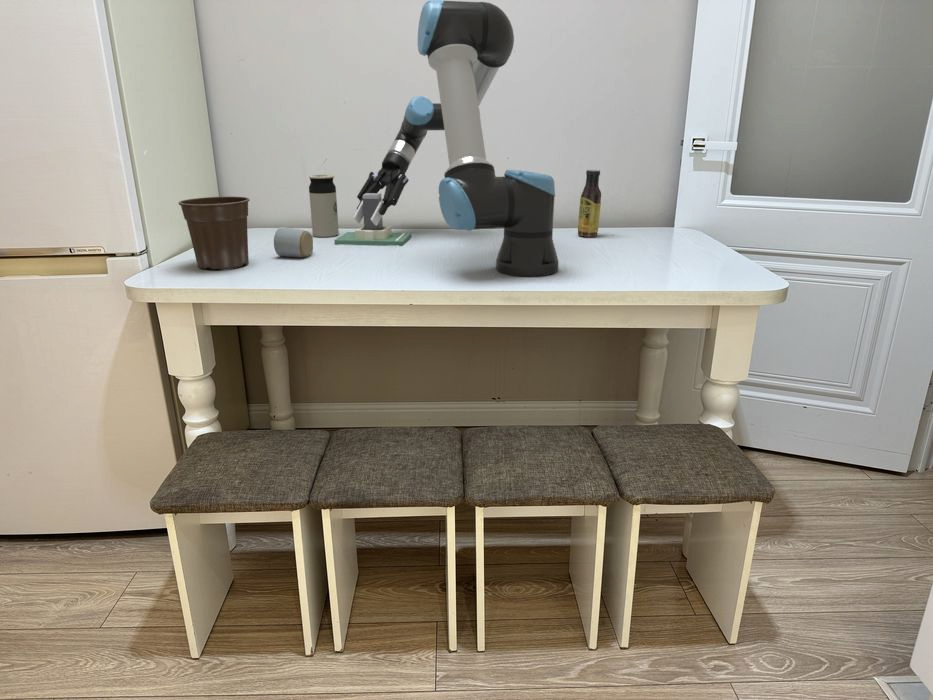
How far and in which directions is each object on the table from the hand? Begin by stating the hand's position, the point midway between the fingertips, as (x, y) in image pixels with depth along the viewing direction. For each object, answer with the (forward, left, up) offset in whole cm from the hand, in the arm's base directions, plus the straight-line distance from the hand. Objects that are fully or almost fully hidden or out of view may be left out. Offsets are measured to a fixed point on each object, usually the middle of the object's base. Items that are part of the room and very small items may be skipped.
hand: (365, 221), depth 188 cm
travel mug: (+10, +15, -6) cm, 20 cm away
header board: (+3, -2, -6) cm, 7 cm away
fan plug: (+3, -2, -4) cm, 5 cm away
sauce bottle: (+17, -66, -6) cm, 68 cm away
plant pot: (-33, +28, -6) cm, 44 cm away
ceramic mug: (-20, +14, -6) cm, 25 cm away
